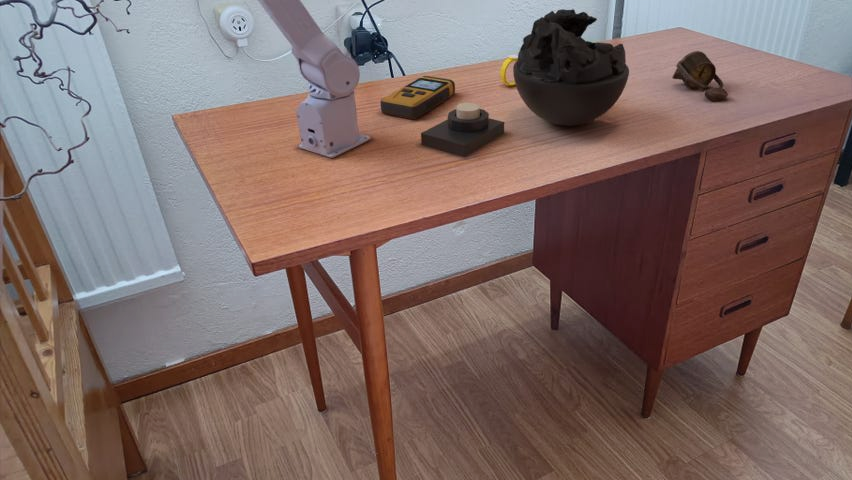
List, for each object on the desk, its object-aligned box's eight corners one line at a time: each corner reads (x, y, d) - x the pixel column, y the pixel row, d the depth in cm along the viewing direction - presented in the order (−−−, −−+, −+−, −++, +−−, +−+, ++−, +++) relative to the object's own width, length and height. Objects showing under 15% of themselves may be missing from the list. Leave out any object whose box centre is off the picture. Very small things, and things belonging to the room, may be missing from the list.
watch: (506, 89, 134) (506, 60, 131) (497, 86, 136) (497, 57, 133) (528, 83, 137) (529, 55, 134) (519, 80, 139) (520, 52, 136)
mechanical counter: (725, 55, 135) (679, 44, 135) (742, 69, 124) (692, 56, 124) (711, 90, 139) (666, 78, 138) (727, 105, 128) (678, 93, 127)
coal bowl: (578, 96, 131) (586, -4, 120) (646, 129, 116) (661, 18, 106) (491, 114, 123) (492, 9, 112) (552, 152, 108) (559, 35, 98)
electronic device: (378, 115, 123) (376, 98, 121) (421, 89, 135) (419, 73, 133) (417, 122, 120) (415, 105, 118) (457, 95, 132) (456, 78, 130)
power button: (471, 122, 110) (471, 112, 109) (451, 117, 112) (451, 108, 111) (484, 115, 113) (484, 105, 112) (465, 110, 115) (465, 101, 114)
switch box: (464, 157, 107) (464, 134, 105) (421, 145, 111) (420, 122, 109) (504, 133, 115) (504, 111, 113) (462, 123, 119) (462, 101, 117)
